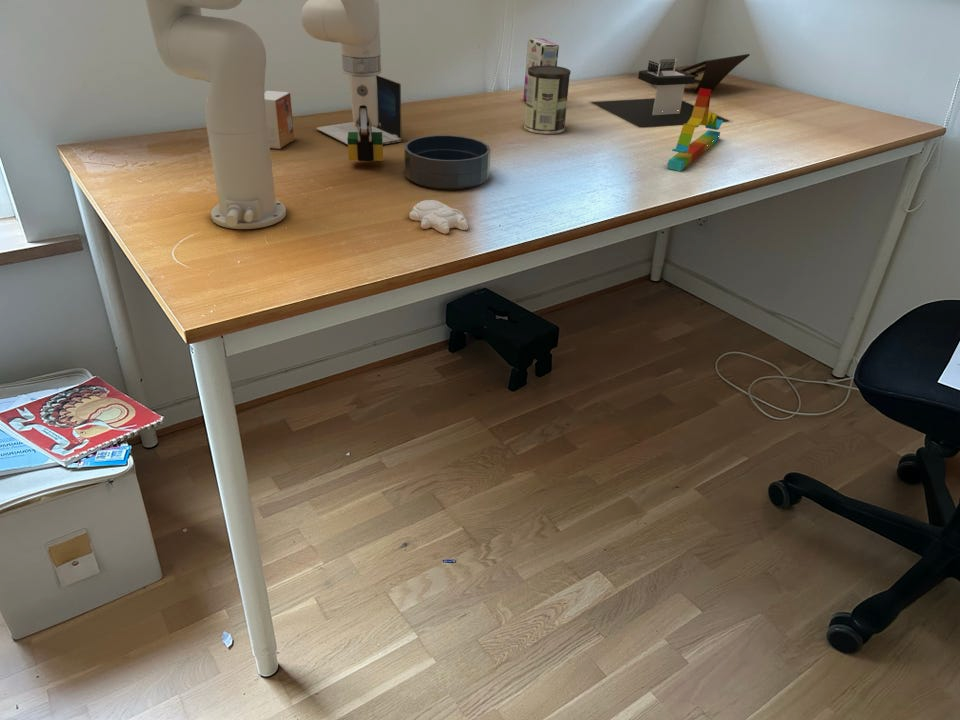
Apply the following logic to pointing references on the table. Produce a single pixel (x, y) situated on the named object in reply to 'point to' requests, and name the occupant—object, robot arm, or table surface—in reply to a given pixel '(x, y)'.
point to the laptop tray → (714, 70)
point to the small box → (279, 118)
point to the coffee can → (546, 99)
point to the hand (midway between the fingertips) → (365, 155)
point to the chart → (698, 118)
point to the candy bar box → (540, 56)
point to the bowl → (447, 161)
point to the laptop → (386, 115)
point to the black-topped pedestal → (657, 98)
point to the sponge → (376, 145)
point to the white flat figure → (438, 216)
